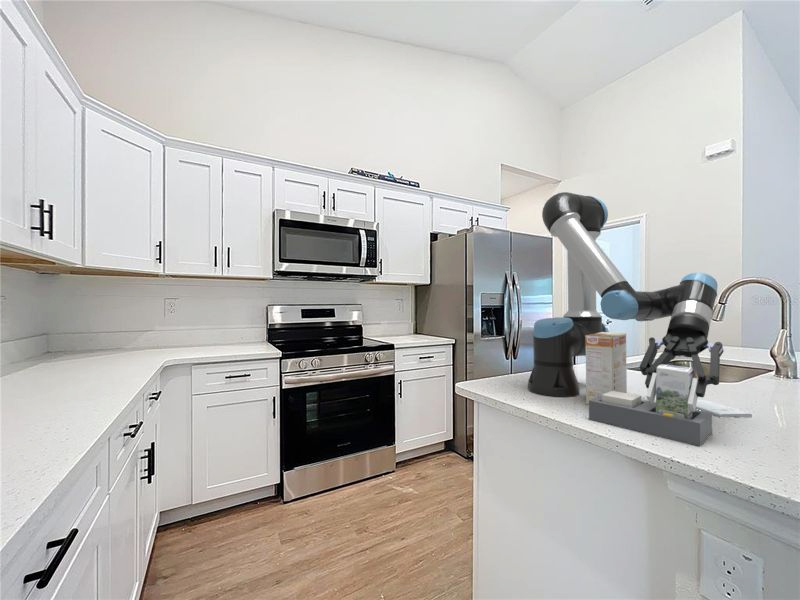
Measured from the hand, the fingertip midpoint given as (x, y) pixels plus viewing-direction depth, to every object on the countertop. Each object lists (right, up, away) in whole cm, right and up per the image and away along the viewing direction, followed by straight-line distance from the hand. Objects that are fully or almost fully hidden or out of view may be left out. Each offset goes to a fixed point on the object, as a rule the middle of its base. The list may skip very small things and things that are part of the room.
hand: (669, 403), depth 75 cm
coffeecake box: (+2, -7, +26) cm, 27 cm away
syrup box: (+3, -7, +2) cm, 8 cm away
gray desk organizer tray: (-1, -7, +6) cm, 9 cm away
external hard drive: (+26, -8, +19) cm, 33 cm away
